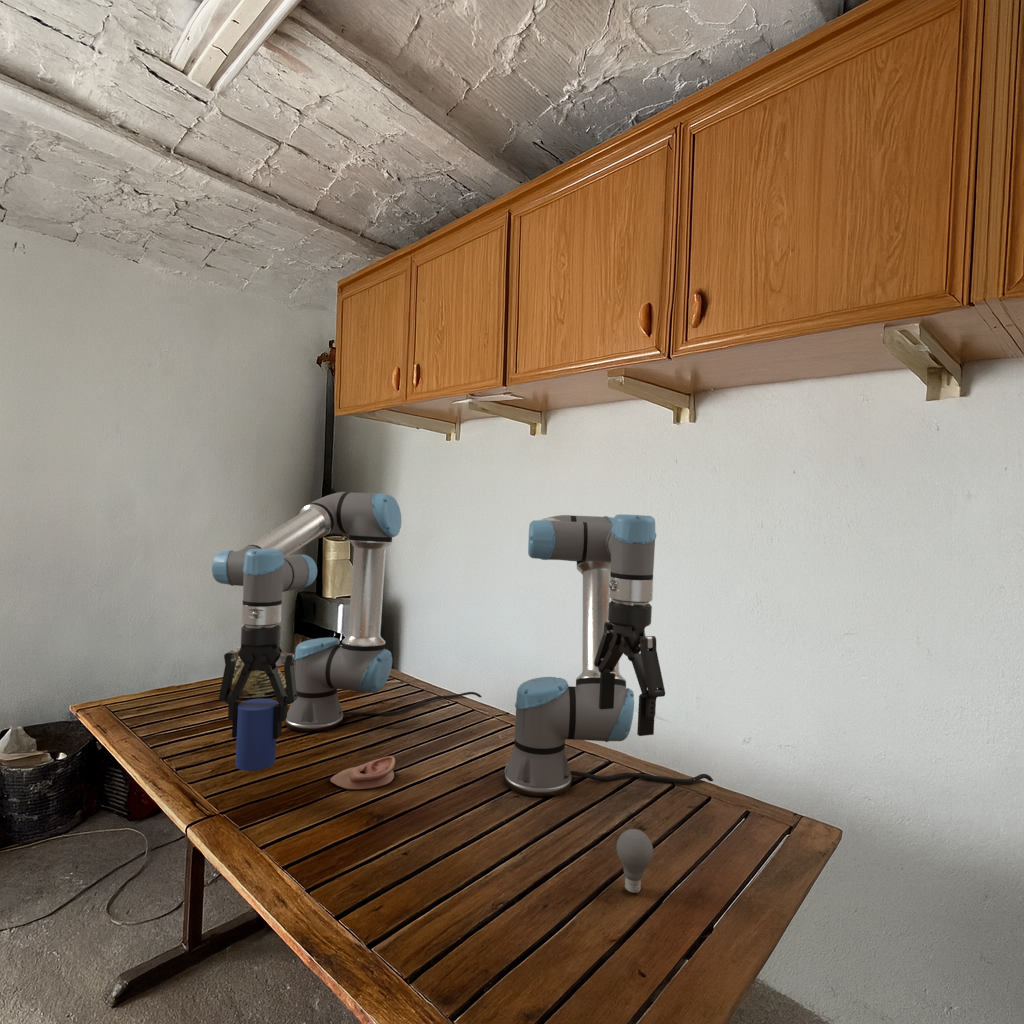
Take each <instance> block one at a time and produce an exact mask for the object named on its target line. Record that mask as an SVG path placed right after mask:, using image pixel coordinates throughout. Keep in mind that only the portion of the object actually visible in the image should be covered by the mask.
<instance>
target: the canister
mask: <svg viewBox="0 0 1024 1024" xmlns="http://www.w3.org/2000/svg"><path fill="white" fill-rule="evenodd" d="M240 702H241V703H240V704H238V715H237V737H236V740H235V741H236V742H235V743H236V744H235V768H236V769H237V770H240V771H243V772H244V771H245V772H257V771H261V770H265V769H268V768H271V767H272V766H274V765H275V763H276V757H277V739H274V715H275V706H276V705H277V704H278V701H277V700H275V699H272V698H252V699H247V700H243V701H240Z"/></svg>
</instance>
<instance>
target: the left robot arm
mask: <svg viewBox="0 0 1024 1024" xmlns="http://www.w3.org/2000/svg"><path fill="white" fill-rule="evenodd" d="M401 528H402V512H401V508H400V504H399V503H398V501H397V499H396V498H395V497H394V496H393V495H390V494H387V493H380V492H352V491H351V492H350V491H339V492H334V493H331V494H328V495H325V496H323V497H321V498H318V499H316V500H314V501H312V502H309V503H308V504H307V505H305V506H303V507H302V508H301V509H300V511H299V513H298V514H297V515H295V516H294V517H292V518H290V519H289V520H287V521H286V522H284V523H282V524H281V525H279V526H277V527H276V528H274V529H273V530H271V531H269V532H267V533H266V534H265V535H262V536H261V537H259V538H257V539H256V540H255V541H253V542H251V543H249V544H248V545H246V546H244V547H242V548H241V549H239V550H236V551H234V550H223V551H220V552H219V553H217V554H215V556H214V557H213V559H212V562H211V573H212V578H213V579H214V580H215V581H216V582H217V583H219V584H221V585H228V586H232V587H234V586H239V587H242V588H243V589H242V593H243V594H242V604H241V605H242V607H241V623H242V624H243V626H241V628H240V630H241V631H240V646H239V647H240V649H239V651H235V650H230V651H228V652H226V653H224V655H223V659H224V663H225V664H224V670H223V675H222V679H221V680H222V681H221V684H220V685H221V686H220V691H219V696H218V700H219V701H220V702H224V703H226V704H227V706H228V710H227V719H228V720H229V721H232V722H231V723H232V725H231V738H232V739H237V715H238V704H240V703H241V702H242V701H239V700H240V699H241V698H239V697H240V695H241V692H242V690H243V688H244V686H245V684H246V682H247V680H248V677H249V675H250V673H251V672H252V671H257V670H259V671H265V672H266V675H267V676H268V677H269V680H270V682H271V685H272V688H273V690H274V693H275V695H274V696H275V699H276V701H277V702H278V704H277V705H276V706H275V715H274V739H276V740H278V739H279V738H280V737H281V735H282V731H283V722H285V726H286V728H287V729H289V730H291V731H294V732H295V731H296V732H301V733H316V732H325V731H329V730H332V729H335V728H337V727H339V726H340V725H342V723H343V722H344V716H389V715H395V714H399V713H403V712H405V711H408V710H410V709H413V708H417V707H419V706H420V705H423V704H425V703H428V702H430V701H435V700H441V699H451V698H459V697H463V696H464V697H465V696H468V695H473V696H476V697H478V698H483V696H482V695H481V694H480V693H478V692H475V691H467V692H466V691H465V692H462V693H457V694H448V695H440V696H439V695H438V696H434V697H429V698H426V699H423V700H421V701H419V702H417V703H414V704H411V705H409V706H407V707H403V708H401V709H397V710H392V711H386V712H385V711H384V712H383V711H381V712H380V711H379V712H376V711H375V712H373V711H371V712H370V711H343V709H342V706H341V702H340V699H339V695H338V690H344V691H352V692H359V693H362V694H363V693H371V694H374V693H378V692H379V691H381V690H382V689H383V688H384V686H385V685H386V683H387V682H388V680H389V677H390V674H391V671H392V666H393V656H392V655H393V654H392V652H391V651H390V650H389V649H386V640H384V638H383V637H382V635H381V630H382V629H381V628H382V613H383V597H384V583H385V570H386V568H385V567H386V555H387V552H386V551H387V549H388V547H389V546H390V545H392V544H393V538H395V537H397V536H398V535H400V534H399V533H400V531H401ZM331 534H344V535H348V542H349V543H350V544H351V546H353V557H352V573H351V587H350V600H349V601H350V603H349V617H348V632H347V635H346V637H345V638H343V639H342V640H341V641H340V639H339V638H338V637H318V638H313V639H307V640H304V641H302V642H299V643H298V644H297V645H296V647H295V652H290V653H289V652H284V651H283V650H282V647H281V635H282V634H281V633H282V626H281V625H280V624H281V623H282V611H283V610H282V605H283V604H282V603H283V593H284V592H289V591H295V590H301V589H304V588H307V587H309V586H311V585H312V584H313V583H314V582H315V580H316V578H317V576H318V567H317V564H316V562H315V560H314V559H313V558H312V557H311V556H309V555H307V554H297V553H296V552H298V551H299V550H301V549H302V548H303V547H305V546H306V545H308V544H309V543H311V542H312V541H314V540H315V539H322V538H324V537H326V536H327V535H331ZM295 553H296V554H295ZM238 657H240V658H241V660H242V661H243V663H244V666H243V668H242V671H241V674H240V676H239V678H238V681H237V683H236V685H235V687H234V689H233V691H232V693H231V694H230V691H231V686H232V681H233V676H234V671H235V666H236V661H237V660H238ZM279 659H280V660H281V663H282V665H283V670H284V677H285V681H286V690H285V689H284V686H283V684H282V681H281V678H280V676H279V673H278V669H279V668H278V665H277V662H278V661H279ZM288 706H289V708H288Z"/></svg>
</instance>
